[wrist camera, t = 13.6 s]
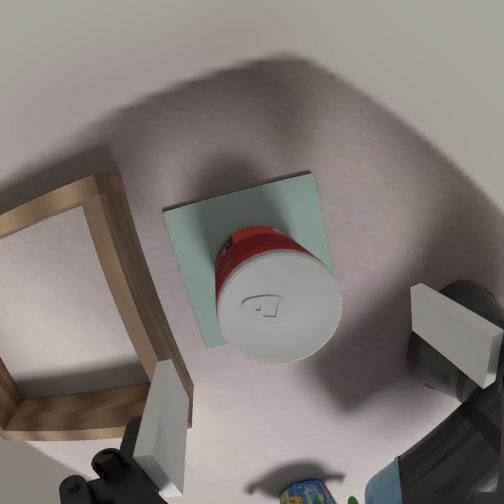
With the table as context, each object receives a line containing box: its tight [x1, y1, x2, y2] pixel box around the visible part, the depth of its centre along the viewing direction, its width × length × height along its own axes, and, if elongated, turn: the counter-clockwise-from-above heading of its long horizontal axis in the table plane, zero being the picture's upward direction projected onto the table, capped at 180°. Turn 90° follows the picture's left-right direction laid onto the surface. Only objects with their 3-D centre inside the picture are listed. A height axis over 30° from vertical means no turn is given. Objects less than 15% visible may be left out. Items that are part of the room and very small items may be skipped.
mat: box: [163, 173, 334, 348], centre depth 30 cm, size 14×14×1 cm
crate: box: [0, 174, 194, 441], centre depth 26 cm, size 26×23×7 cm
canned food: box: [215, 226, 343, 364], centre depth 24 cm, size 8×8×11 cm
